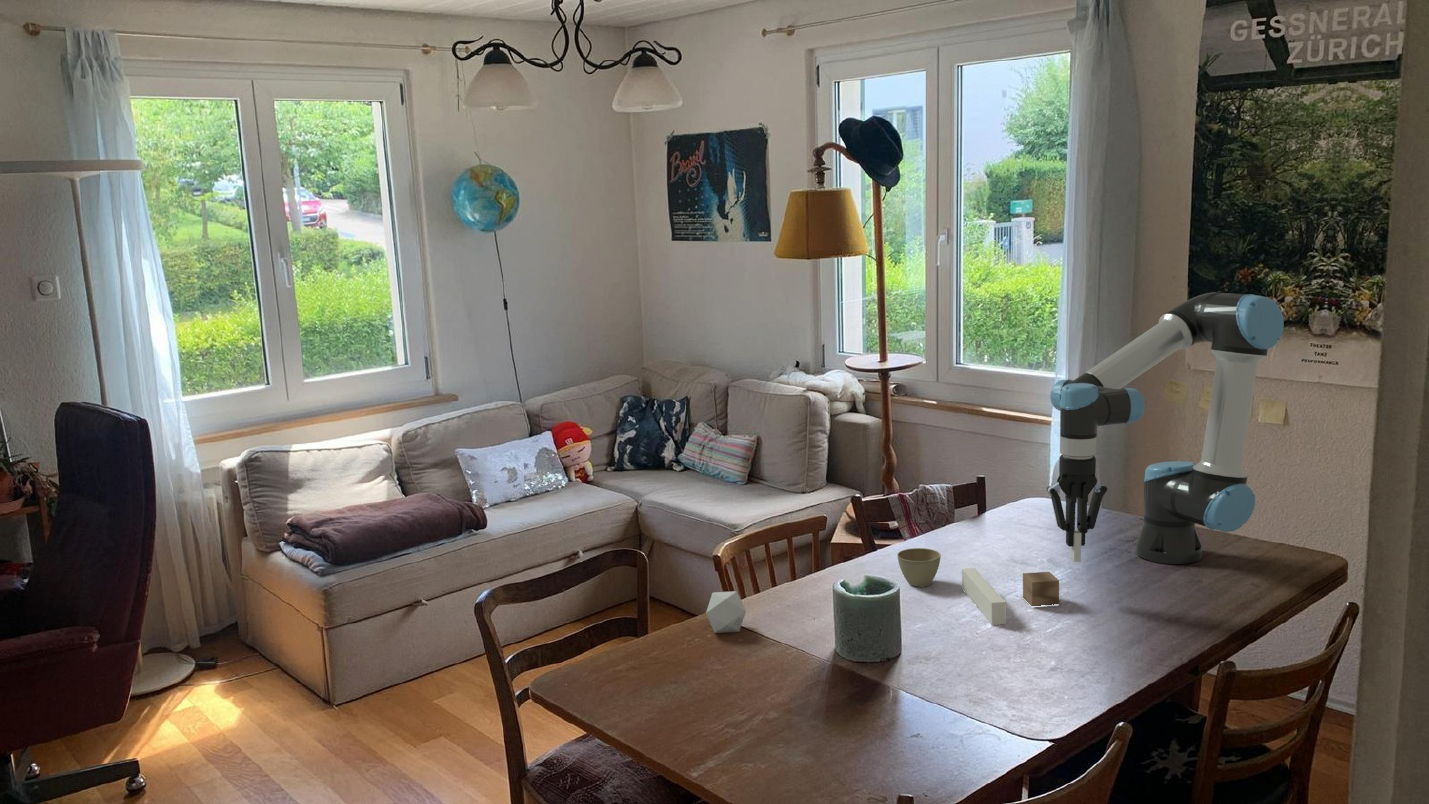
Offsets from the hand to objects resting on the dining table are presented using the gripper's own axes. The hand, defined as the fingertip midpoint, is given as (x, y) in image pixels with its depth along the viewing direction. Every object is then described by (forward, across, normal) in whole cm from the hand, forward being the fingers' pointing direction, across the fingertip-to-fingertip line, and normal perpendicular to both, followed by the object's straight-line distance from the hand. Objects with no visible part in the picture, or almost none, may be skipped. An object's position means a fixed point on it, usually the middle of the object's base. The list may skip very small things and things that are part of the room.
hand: (1075, 559), depth 242 cm
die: (+11, +77, +3) cm, 78 cm away
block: (+10, +8, 0) cm, 12 cm away
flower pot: (+10, +30, -17) cm, 36 cm away
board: (+10, +20, 0) cm, 23 cm away
